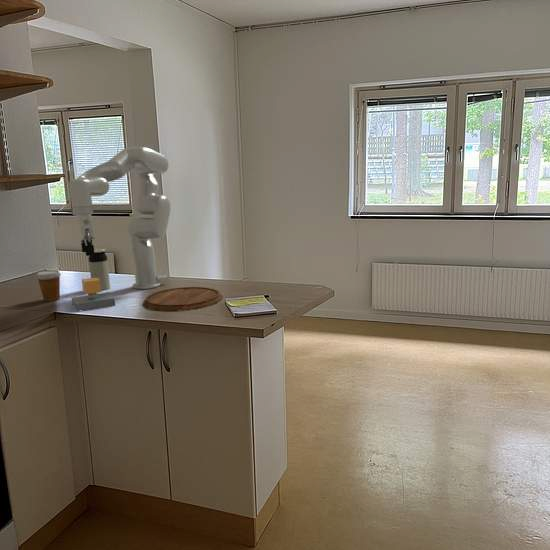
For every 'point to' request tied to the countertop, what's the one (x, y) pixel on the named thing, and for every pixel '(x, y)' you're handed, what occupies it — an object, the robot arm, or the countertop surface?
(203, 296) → the cutting board
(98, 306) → the block
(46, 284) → the disposable coffee cup
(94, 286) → the tan cardboard carton
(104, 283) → the travel mug
